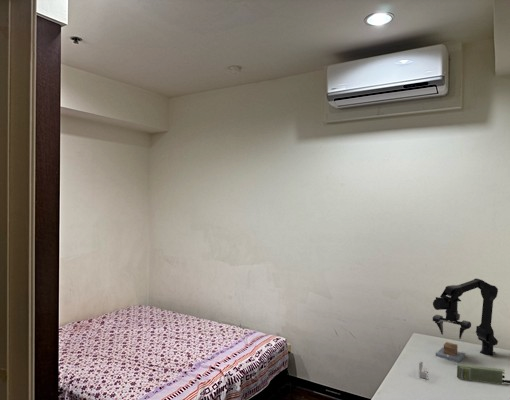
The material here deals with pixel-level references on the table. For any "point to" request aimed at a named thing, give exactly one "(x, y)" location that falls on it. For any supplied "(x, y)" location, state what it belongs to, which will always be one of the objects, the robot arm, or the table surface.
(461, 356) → the light switch plate
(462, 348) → the table surface
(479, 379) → the handheld radio
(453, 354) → the taped cardboard box
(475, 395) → the table surface
